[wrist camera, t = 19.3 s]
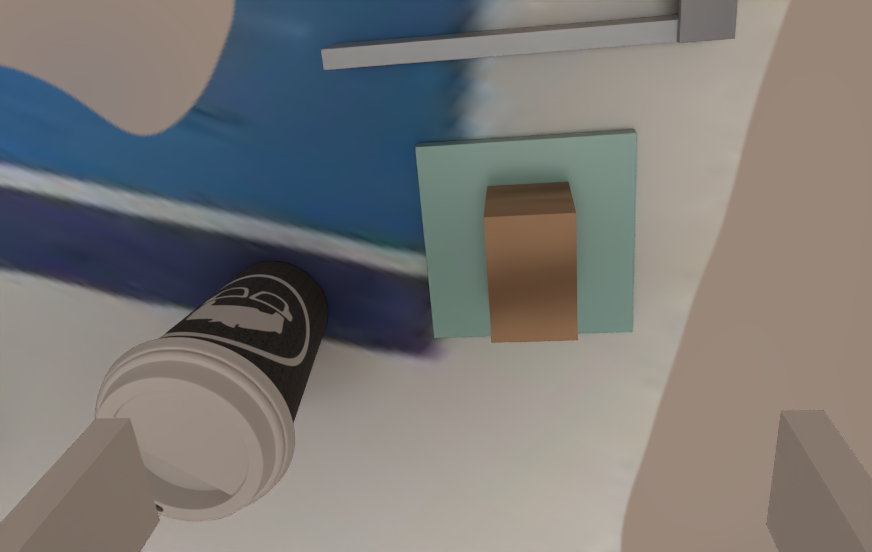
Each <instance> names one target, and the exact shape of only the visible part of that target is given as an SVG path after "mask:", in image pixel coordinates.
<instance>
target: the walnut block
mask: <svg viewBox="0 0 872 552" xmlns="http://www.w3.org/2000/svg"><path fill="white" fill-rule="evenodd" d="M484 233H485V248H486V264H487V279H488V295H489V310H490V326H491V341H492V343H496V342H530V341H565V340H578V319H577V234H576V210H575V206H574V202H573V198H572V194H571V190H570V185H569V181H567V182H550V183H532V184H514V185H497V186H487V193H486V201H485V209H484Z"/></svg>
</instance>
